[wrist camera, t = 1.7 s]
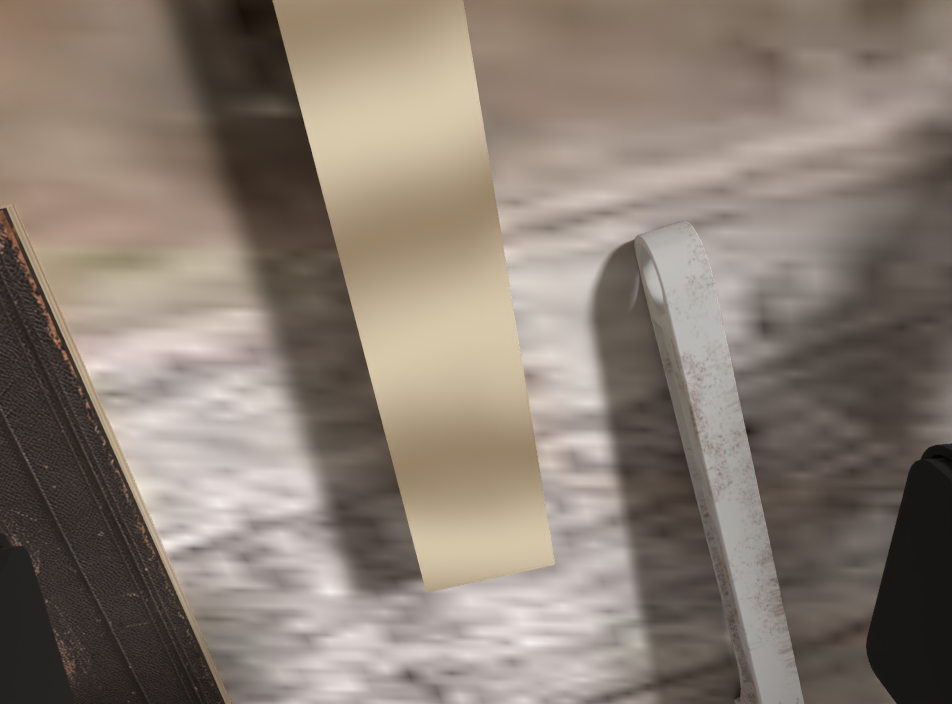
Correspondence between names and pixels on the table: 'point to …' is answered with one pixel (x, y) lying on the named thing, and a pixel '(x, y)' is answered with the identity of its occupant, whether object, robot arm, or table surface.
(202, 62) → the table surface
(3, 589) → the robot arm
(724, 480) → the wrench
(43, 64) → the table surface
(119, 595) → the hardcover book
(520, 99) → the table surface
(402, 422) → the birch bar
